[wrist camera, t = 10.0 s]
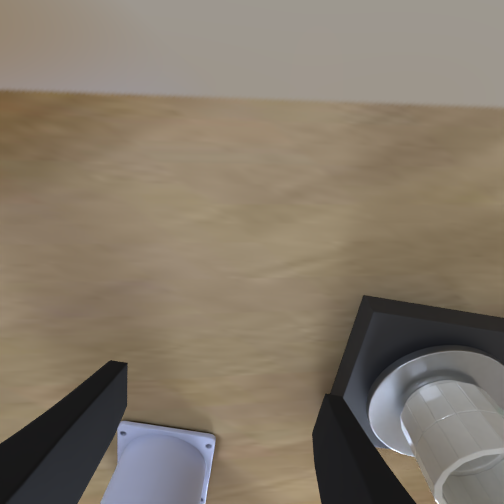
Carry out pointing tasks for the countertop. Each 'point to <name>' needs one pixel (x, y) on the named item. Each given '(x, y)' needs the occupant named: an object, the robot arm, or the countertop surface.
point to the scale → (404, 344)
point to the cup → (457, 441)
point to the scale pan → (422, 373)
